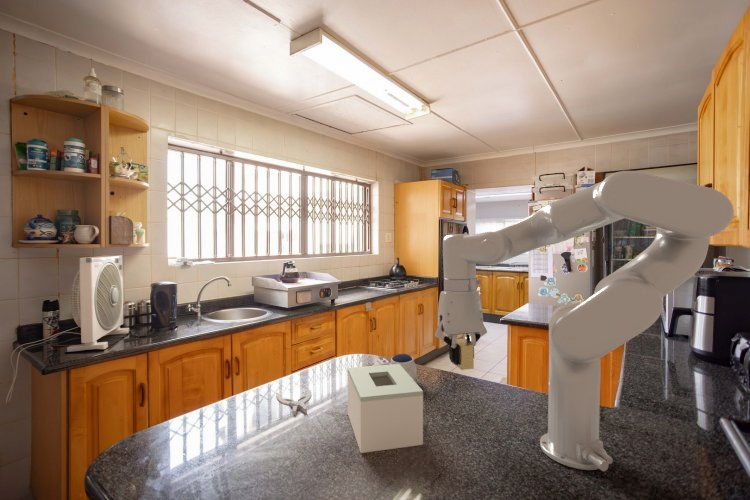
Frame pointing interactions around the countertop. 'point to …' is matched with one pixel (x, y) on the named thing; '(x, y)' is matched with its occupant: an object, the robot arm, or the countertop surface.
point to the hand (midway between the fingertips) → (461, 361)
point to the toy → (401, 359)
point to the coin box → (384, 407)
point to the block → (465, 355)
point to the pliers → (296, 402)
